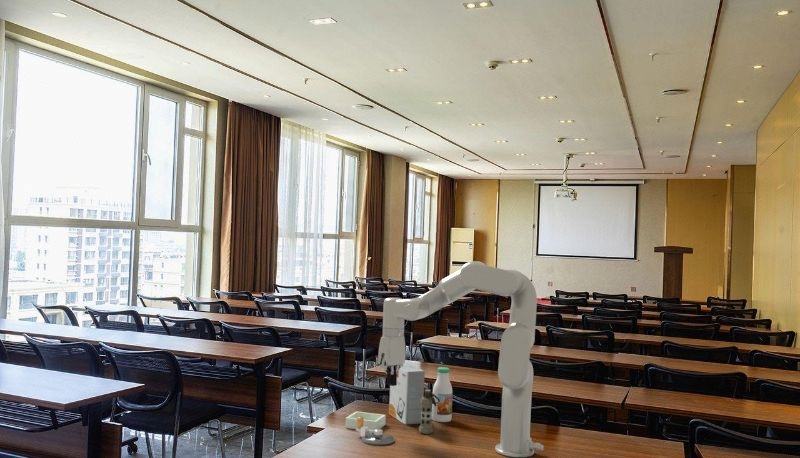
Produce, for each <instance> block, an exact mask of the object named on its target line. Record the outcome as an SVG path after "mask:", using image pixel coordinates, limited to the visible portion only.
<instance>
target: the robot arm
mask: <svg viewBox="0 0 800 458" xmlns="http://www.w3.org/2000/svg"><path fill="white" fill-rule="evenodd" d="M476 290H478V291H481V292H485V293H489V294H494V295H497V296H502V297H510V298H511V305H510V310H509V323H508V327H507V328H506V329H505V330H504V331H503V333H502V334H501V338H500V339H501V340H500V348H499V356H498V366H497V367H498V369H497V373H498V375H497V376H498V379H499V382H500V383H501V384H502V392H501V393H502V395H501V416H500V419H501V420H500V440H499V441H500V443H497V444H496V445H495V448H494V450H495V451H496V453H498V454H499V455H503V456H507V457H512V458H527V457H532V456H533V455H534V454H535V450H536V451H540V452H543V451H544V444H541V442H534V441H532V437H531V418H532V416H531V412H532V411H531V410H532V394H533V393H532V392H533V384H534V368H533V364H532V362H531V360H530V357H531V348H533V346H534V344H535V341H536V340H535V336H536V323H537V305H538V302H537V301H538V298H537V290H536V287H535V285H534V284H533V282H532V281H531V280H530V278H529V277H527V275H525V274H524V273H522V272H520V271H518V270H516V269H503V268H498V267H495V266H491V265H488V264H487V265H486V263H484V262H483V261H469V262H468V261H467V262H466V263H464V264H463V265H462V267H461V268H460V269H458V270H456V271H455V272H453V273H451V274H449V275H447V276H446V277H444V278H442V279H441V280H439V283H438V284H437V285H436V286H435V287H433V288H432V289H430V290H429V291H427V292H425V293H424V294H422V295H420V296H418V297H414V298H407V299H403V298H402V297H387V298H384V301H383V306H382V307H383V308H382V309H383V315H382V316H383V317H382V336H381V337H380V340H379V346H378V355H377V363H378V365H379V366H380V369H381V370H383V371H385V374H386V385H387V386H389V387H390V386H396V385H397V374H398V370H399V369H400V368H401V367H403V364H405V361H406V340H405V320H406V321H410V322H412V321H417V320H421V319H424V318H426V317H428V316H430V315H432V314H433V313H436V312H437V311H439V310H441V309H442V308H444V307H446V306H448V305H449V304H452V303H453V302H455V301H457V300H459V299H461V298H463V297H465V296H466V295H468V294H469V293H471V292H473V291H476Z"/></svg>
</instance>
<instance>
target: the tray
mask: <svg viewBox="0 0 800 458" xmlns="http://www.w3.org/2000/svg"><path fill="white" fill-rule="evenodd" d="M357 417H363V418H364V422H363V426H364V427H368V429H371V430H375V429H382V428H384V426H385V425H386V418H387V417H386V414H381V413H372V412H371V413H370V412H364V411H354V412H353V413H351V414H349V415H348V416H346V417H345V421H344V422H345V429H350V430H356V428H357Z"/></svg>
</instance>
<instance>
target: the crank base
mask: <svg viewBox="0 0 800 458" xmlns="http://www.w3.org/2000/svg"><path fill="white" fill-rule="evenodd" d="M359 434H360V435H359V436H360V437H361V442H362V443H363V444H365V445H371V446H388V445H392V444H393V443H394V442H395V437H394V436H392V435H391V434H389V433H383V437H381V438H376V437H373V434H368V427H364V426H363V427H361V431H360V432H359Z"/></svg>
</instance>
